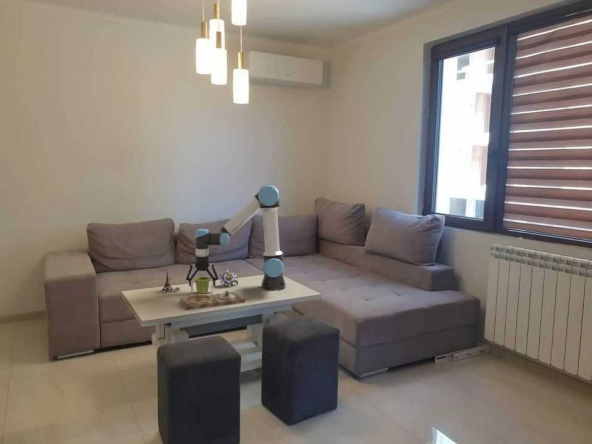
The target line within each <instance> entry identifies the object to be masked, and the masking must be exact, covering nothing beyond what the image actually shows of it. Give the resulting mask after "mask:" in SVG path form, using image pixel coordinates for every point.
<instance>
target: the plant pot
mask: <svg viewBox="0 0 592 444" xmlns="http://www.w3.org/2000/svg"><path fill="white" fill-rule="evenodd" d="M193 279H194V280H193V281H194V283H195V287H196V293H197V294H203V295H204V294H208V292H209V287H210V281H211V277H210V276H197V277H196V276H195V278H194V277H193Z"/></svg>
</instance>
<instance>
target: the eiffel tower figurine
mask: <svg viewBox="0 0 592 444" xmlns="http://www.w3.org/2000/svg"><path fill="white" fill-rule="evenodd" d="M168 273H169V271H168V270H166V279H165V283H164V285H163V288H162V289H161V290H160V291H161V292H164V291H165V292H164V293H163V294H167V293H178V292H180V291H181V289H180V287H175V288H173V287H172V285H171V284H170V282H169V274H168Z"/></svg>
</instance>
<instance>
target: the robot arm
mask: <svg viewBox="0 0 592 444" xmlns="http://www.w3.org/2000/svg"><path fill="white" fill-rule="evenodd" d="M278 209H280V192H279V189H278V188H277V187H276V185H274V184H270V183H267V184H264V185H262V186H261V187H260V189H259V190H258V192H257V193H256V194H255V195H254V196H253V199H252V200H251V201H249V202H248V203H247V205H245V206H244V207H243V208H242V209H241V210H239V212H237V214H235V215H234V216H232V217H231V219H230V220H229V221H227V222H226V223H225V224H224V225H223V226H222V227H221V228H220V229H218V230H217V231H216V232H210V231H209V229H207V228H199V229H196V230H195V237H194V239H195V263H190V266H189V270H188V272H187V273H188V274H187V275H186V278H185V281H188V284H189V285H188V286H189V287H190V292H191V293H193V292H194V280H193V279H194V277H196V274H197V273H198V272H205V271H206V273H207V274H208V276H209V277H210V279H211V292H212V293H214V290H215V289H214V287H215V286H216V282H217V281H218V280H219V275H218V273H217V271H216V269H215V263H214V262H213V263H210V261H209V260H210V256H209V255H210V254H209V247H211V246H215V247H216V246H221V247H224V246H229V244H230V238H231V237H232V236H233V235H234V234H235V233H236V232H237V231H238V230H239V229H241V227H242V226H244V225H245V224H246V223H247V222H248V221H249V220H251V219H252V218H253V217H254V216H256V214H258V213H259V211H262V221H263V222H262V223H263V237H264V253H262V259H263V261H262V262H263V268H262V269H263V272H264V275H263V279H262V281H261V289H264V290H266V289H267V290H269V291H279V289H281V290H284V289H285V288H286V286H287V285H286V281H285V277H284V269H285V266H284V252H283V251H282V250H281V248H280V234H279V233H280V231H279V220H278V219H279V218H278V216H279V215H278ZM194 267H195V268H196V269H195V270H194V272H193V273H192V275H191V272H192V271H193V268H194ZM209 267H210V268H211V270H212V272H213V273H212V272H211V270H210V269H209ZM283 288H284V289H283Z"/></svg>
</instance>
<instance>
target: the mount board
mask: <svg viewBox="0 0 592 444" xmlns="http://www.w3.org/2000/svg"><path fill="white" fill-rule="evenodd" d="M245 302H246V299H245V297H243V296H241V295H240V294H239V293H237V292H235V291H231V292H229V290H226V291H224V292H222V293H215V294H204V293H203V294H198V293H197V294H191V295H190V294H189V295H187V296H185V297H183V298H179V303H180V304H181V305H182V306H183V307H184V308H185V309H186V310H187V311H192V310H197V309H206V308H213V307H221V306H227V305H235V304H242V303H245Z"/></svg>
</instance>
